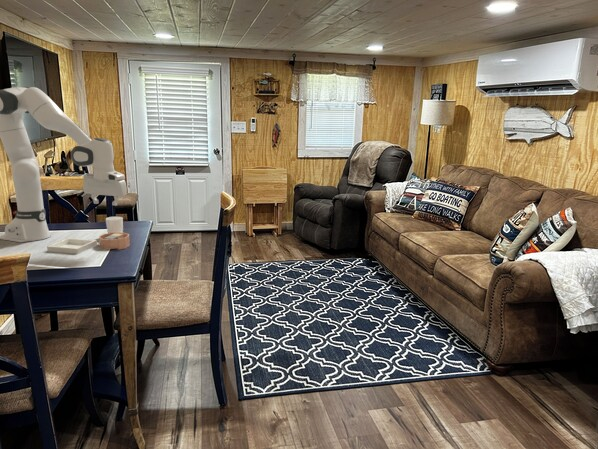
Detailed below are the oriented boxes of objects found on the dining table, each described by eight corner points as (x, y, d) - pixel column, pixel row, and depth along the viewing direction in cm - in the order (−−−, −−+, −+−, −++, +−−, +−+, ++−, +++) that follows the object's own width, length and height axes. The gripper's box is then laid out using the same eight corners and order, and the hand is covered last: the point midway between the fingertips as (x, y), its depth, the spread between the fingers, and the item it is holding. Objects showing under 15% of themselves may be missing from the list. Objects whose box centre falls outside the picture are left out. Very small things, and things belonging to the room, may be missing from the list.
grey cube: (104, 246, 208) (103, 237, 207) (110, 243, 212) (109, 235, 211) (112, 247, 207) (112, 238, 206) (118, 244, 211) (117, 236, 210)
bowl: (94, 249, 207) (93, 238, 206) (110, 241, 220) (109, 231, 218) (119, 251, 205) (119, 240, 204) (134, 243, 217) (134, 233, 216)
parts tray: (47, 252, 200) (47, 246, 200) (68, 244, 214) (68, 238, 213) (78, 255, 198) (77, 248, 197) (97, 246, 211) (96, 240, 210)
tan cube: (110, 243, 213) (110, 235, 212) (115, 241, 217) (115, 233, 216) (119, 244, 212) (118, 236, 211) (123, 242, 216) (123, 234, 215)
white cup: (118, 240, 222) (116, 220, 220) (103, 239, 224) (102, 219, 221) (127, 236, 230) (125, 217, 227) (113, 235, 231) (111, 216, 229)
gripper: (78, 173, 203) (80, 203, 206) (120, 177, 199) (121, 207, 203) (87, 172, 209) (89, 201, 212) (128, 175, 205) (129, 205, 209)
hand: (105, 204), depth 207 cm, fingers open, 8 cm apart
